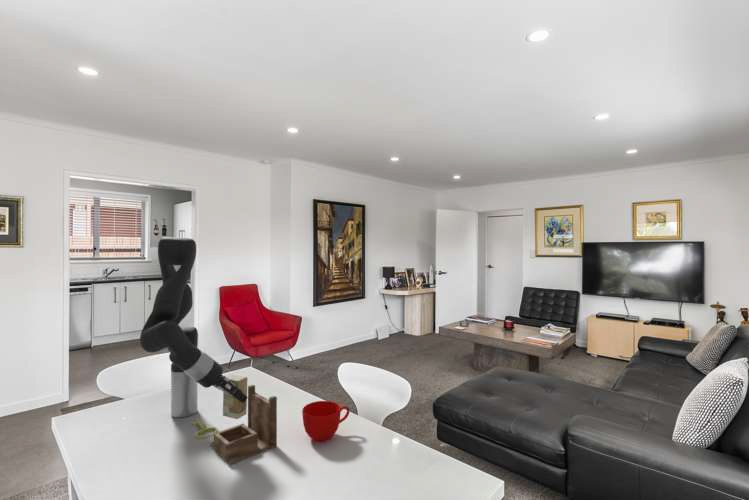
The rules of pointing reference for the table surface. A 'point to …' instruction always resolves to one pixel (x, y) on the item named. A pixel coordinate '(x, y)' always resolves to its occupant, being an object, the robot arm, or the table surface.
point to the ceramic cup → (322, 419)
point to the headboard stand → (250, 430)
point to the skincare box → (231, 404)
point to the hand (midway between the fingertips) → (239, 396)
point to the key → (204, 429)
